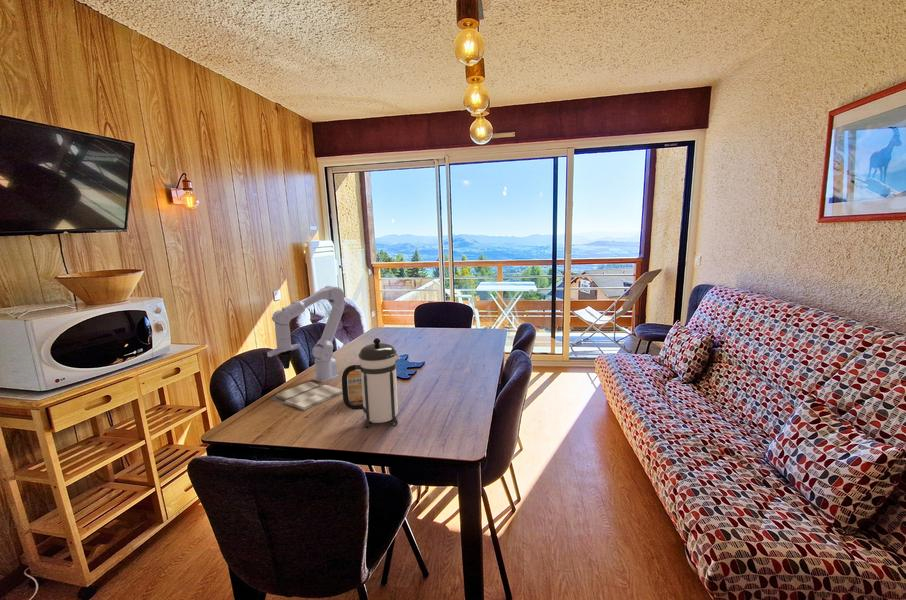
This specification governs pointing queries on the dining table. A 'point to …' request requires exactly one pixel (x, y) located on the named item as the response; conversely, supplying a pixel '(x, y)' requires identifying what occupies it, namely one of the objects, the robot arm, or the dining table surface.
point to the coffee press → (375, 383)
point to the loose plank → (297, 390)
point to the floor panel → (311, 397)
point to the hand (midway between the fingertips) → (286, 368)
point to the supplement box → (355, 386)
